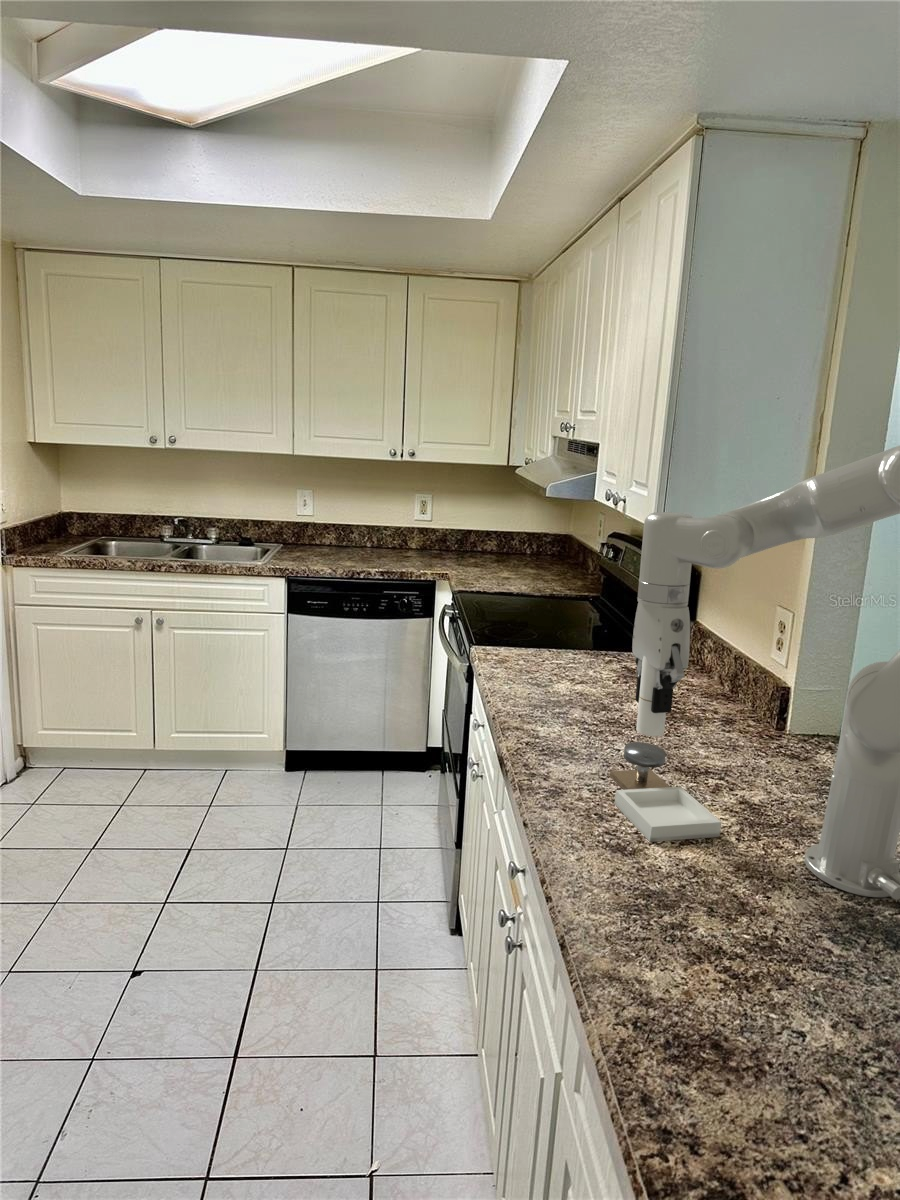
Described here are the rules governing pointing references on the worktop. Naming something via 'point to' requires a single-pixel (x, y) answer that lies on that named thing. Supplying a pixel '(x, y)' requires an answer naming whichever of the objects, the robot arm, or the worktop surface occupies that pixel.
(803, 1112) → the worktop surface
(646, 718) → the tube
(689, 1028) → the worktop surface
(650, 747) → the knob on plate
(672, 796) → the tray
